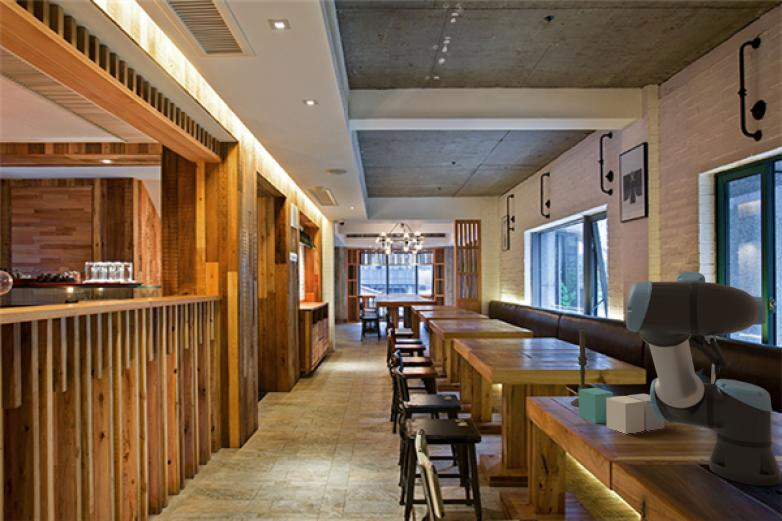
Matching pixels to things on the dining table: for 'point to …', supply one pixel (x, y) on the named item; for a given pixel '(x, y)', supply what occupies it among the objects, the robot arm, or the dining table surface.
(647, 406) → the grey block
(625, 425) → the cream block
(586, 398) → the teal block
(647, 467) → the dining table surface
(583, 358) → the candlestick holder
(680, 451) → the dining table surface
